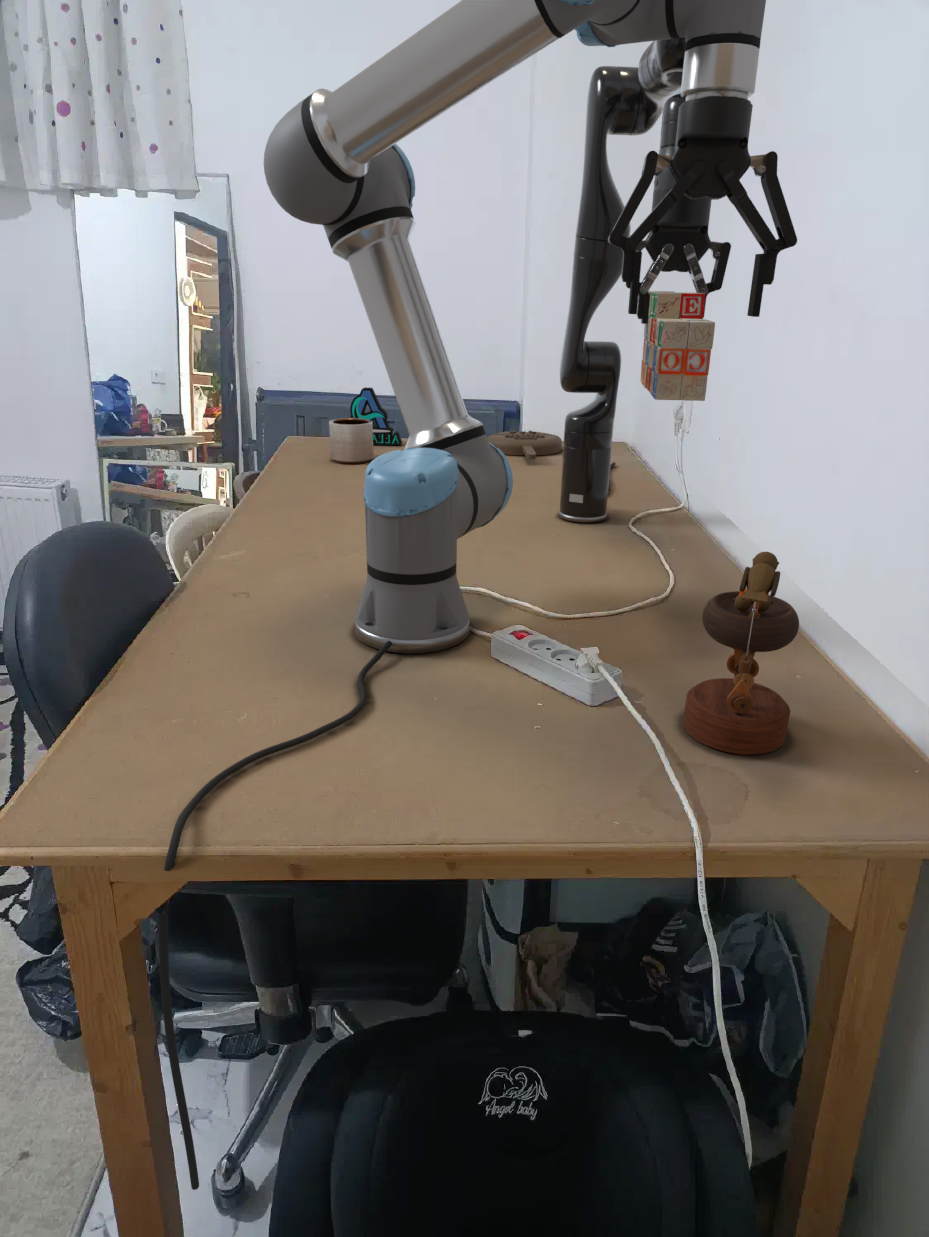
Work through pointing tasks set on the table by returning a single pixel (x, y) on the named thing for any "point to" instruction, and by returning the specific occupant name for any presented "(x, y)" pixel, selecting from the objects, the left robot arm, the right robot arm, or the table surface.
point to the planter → (351, 440)
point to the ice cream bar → (526, 443)
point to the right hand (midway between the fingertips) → (669, 323)
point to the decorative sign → (374, 417)
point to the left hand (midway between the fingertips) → (692, 315)
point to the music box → (744, 666)
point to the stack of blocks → (676, 346)
